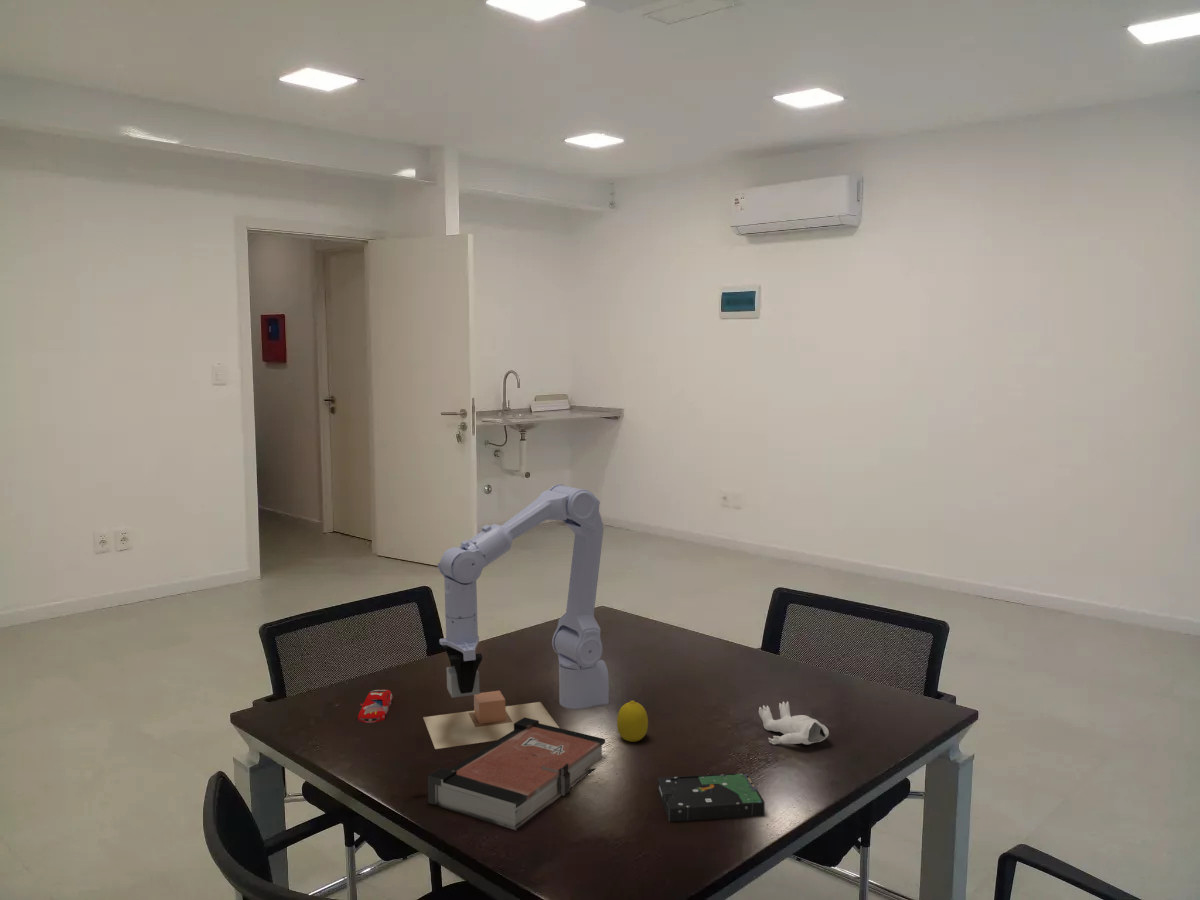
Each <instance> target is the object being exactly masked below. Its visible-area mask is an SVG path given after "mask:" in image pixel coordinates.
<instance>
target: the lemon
mask: <svg viewBox="0 0 1200 900" xmlns="http://www.w3.org/2000/svg"><path fill="white" fill-rule="evenodd" d="M648 718H649V717H648V714H647V711H646V709H645V707H644V706H643V705H642V704H640V703H639V702H636V701H635V700H633V699H632V700H630V701H629V702H626V703H624V705H622V706H621V707H620V709H619V711H618V713H617V718H616V727H617V731H618V734H619V735H620V737H621V738H622V739H623V740H625V741H627V742H629V743H635V742H639V741H640V740H642V739H643V738H644V737H645V735H646V734H647V732H648V726H649V719H648Z"/></svg>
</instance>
